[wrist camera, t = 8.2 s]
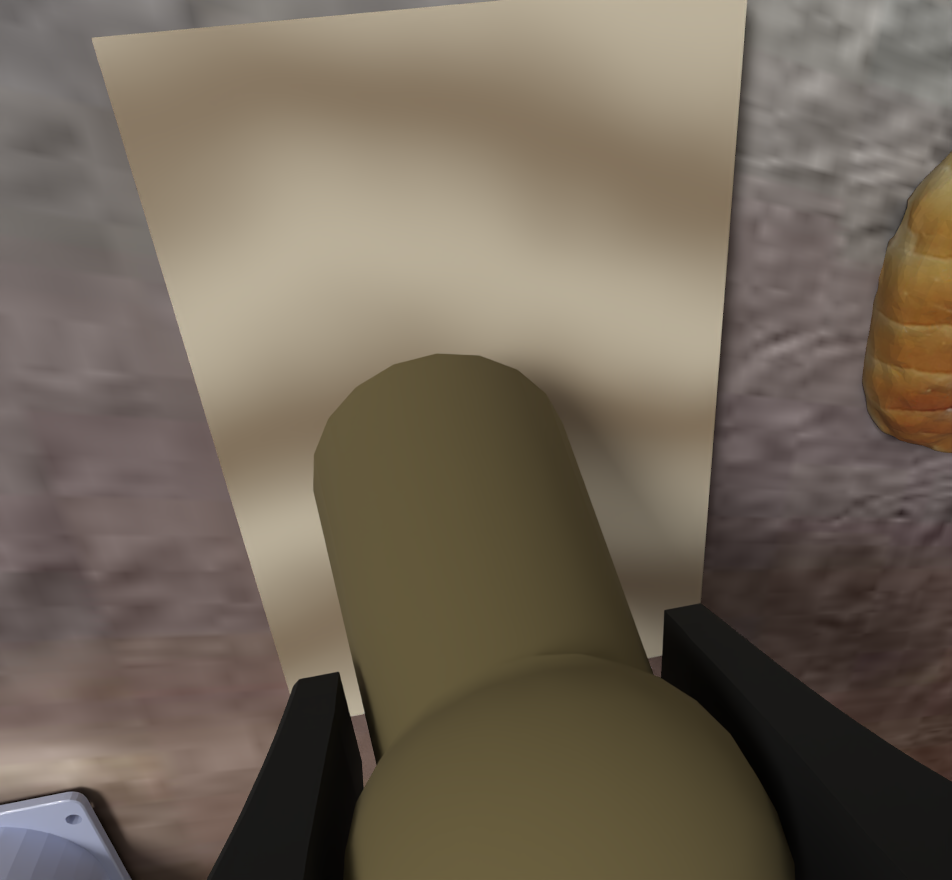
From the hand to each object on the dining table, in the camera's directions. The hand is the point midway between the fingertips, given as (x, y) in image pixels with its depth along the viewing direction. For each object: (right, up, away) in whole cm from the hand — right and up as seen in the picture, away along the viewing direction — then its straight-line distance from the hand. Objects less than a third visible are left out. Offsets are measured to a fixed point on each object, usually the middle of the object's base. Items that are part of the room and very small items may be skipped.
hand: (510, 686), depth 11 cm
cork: (-1, +3, +5) cm, 6 cm away
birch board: (-1, +5, +9) cm, 10 cm away
